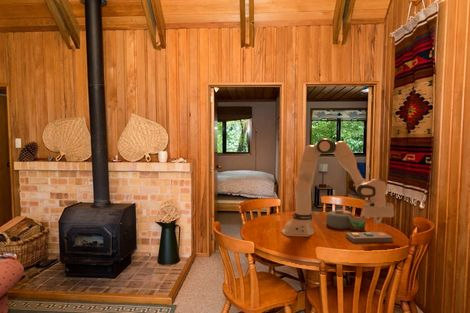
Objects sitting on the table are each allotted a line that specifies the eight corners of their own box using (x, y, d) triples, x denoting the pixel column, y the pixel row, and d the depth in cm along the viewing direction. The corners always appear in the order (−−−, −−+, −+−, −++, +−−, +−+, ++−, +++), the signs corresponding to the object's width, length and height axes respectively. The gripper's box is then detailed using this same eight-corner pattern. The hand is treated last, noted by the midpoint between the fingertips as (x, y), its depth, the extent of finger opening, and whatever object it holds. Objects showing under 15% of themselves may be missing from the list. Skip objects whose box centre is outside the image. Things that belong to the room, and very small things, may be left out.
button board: (353, 242, 190) (353, 238, 190) (345, 237, 202) (345, 232, 202) (392, 241, 191) (392, 237, 191) (382, 236, 203) (382, 231, 203)
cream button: (353, 237, 194) (353, 234, 194) (351, 235, 198) (351, 232, 198) (359, 237, 194) (359, 234, 194) (356, 235, 198) (356, 232, 198)
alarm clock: (358, 227, 226) (358, 211, 225) (339, 230, 217) (339, 214, 216) (339, 221, 243) (339, 206, 242) (321, 224, 234) (321, 209, 234)
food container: (348, 230, 216) (348, 217, 215) (348, 228, 222) (348, 215, 221) (367, 232, 211) (367, 218, 211) (366, 230, 217) (366, 216, 217)
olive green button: (367, 237, 194) (367, 234, 194) (364, 235, 198) (364, 232, 198) (373, 236, 194) (373, 234, 194) (370, 235, 198) (370, 232, 198)
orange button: (380, 238, 195) (380, 235, 194) (377, 236, 199) (377, 233, 198) (386, 238, 195) (386, 235, 195) (383, 236, 199) (383, 233, 199)
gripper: (390, 201, 199) (390, 222, 200) (361, 202, 198) (360, 222, 199) (396, 203, 193) (395, 224, 194) (365, 204, 192) (365, 225, 193)
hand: (377, 223), depth 196 cm, fingers closed
